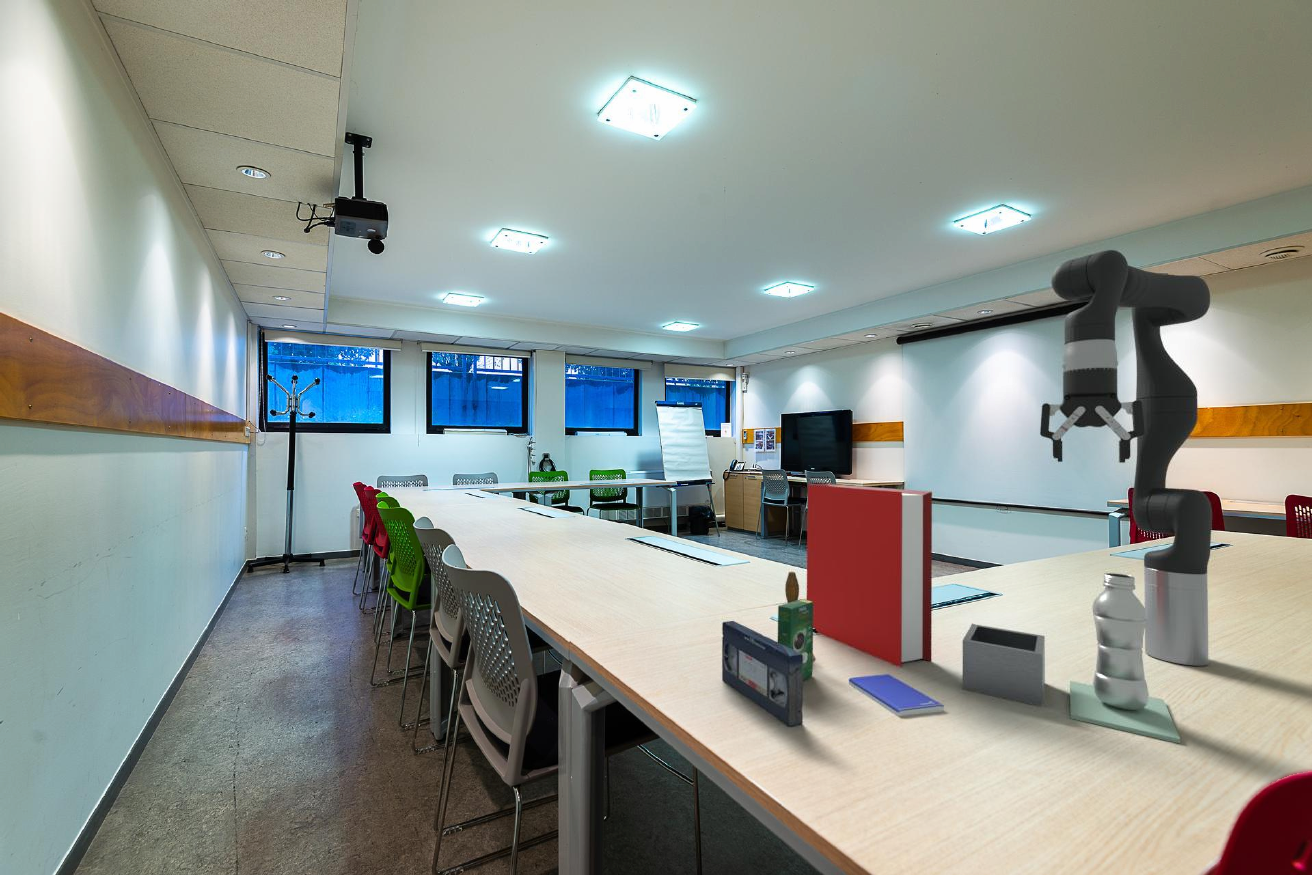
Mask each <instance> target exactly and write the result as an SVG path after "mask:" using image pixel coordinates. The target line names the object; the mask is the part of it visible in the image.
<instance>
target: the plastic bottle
mask: <svg viewBox="0 0 1312 875" xmlns="http://www.w3.org/2000/svg"><path fill="white" fill-rule="evenodd" d="M1135 582H1136V580H1135V576H1133V575H1131V574H1130V575H1128V574H1123V573H1116V572H1115V573H1114V572H1112V573H1111V572H1106V573H1104V574H1103V581H1102V586H1104V587H1105V588H1104V590H1103V591H1101V593H1099V594H1098V596H1096V598H1095V599H1094V600H1093V602H1092V603H1093V604H1092V606H1091V607H1092V616H1093V620H1094V625H1095V626H1094V627H1095V631H1096V633H1095V634H1096V641H1097V642H1096V643H1097V644H1096V646H1097V654H1096V655H1097V656H1096V664H1095V666H1096V667H1095V669H1096V670H1095V672H1094V675H1093V682H1092V685H1093V687H1094V691H1095V694H1096V696H1097V697H1098V699H1099V700H1100V701H1102V702H1104V703H1106V704H1108V705H1111V706H1114V707H1117V708H1122V709H1127V710H1141V709H1143V708H1144V707H1145V706H1146V705H1147V703H1148V698H1149V697H1150V694H1149V689H1148V688H1149V687H1148V683H1147V680H1146V677H1145V668H1144V662H1143V648H1144V647H1143V646H1144V637H1145V624H1146V621H1145V620H1146V615H1147V613H1146V611H1145V605H1144V604H1142V602H1141V600H1140V599H1139V598H1138V597H1137V596H1136V594H1135V593H1134V590H1136V585H1135Z"/></svg>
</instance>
